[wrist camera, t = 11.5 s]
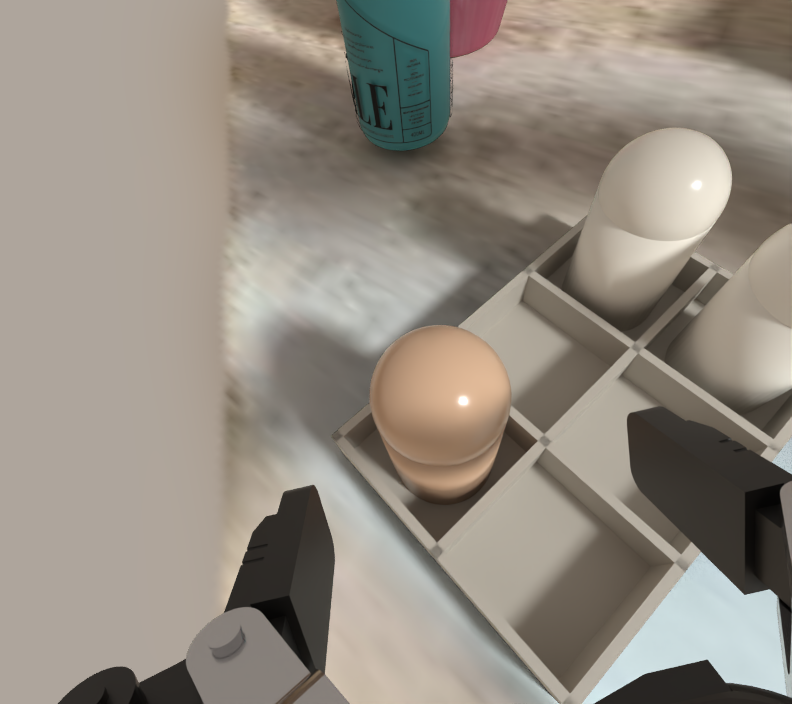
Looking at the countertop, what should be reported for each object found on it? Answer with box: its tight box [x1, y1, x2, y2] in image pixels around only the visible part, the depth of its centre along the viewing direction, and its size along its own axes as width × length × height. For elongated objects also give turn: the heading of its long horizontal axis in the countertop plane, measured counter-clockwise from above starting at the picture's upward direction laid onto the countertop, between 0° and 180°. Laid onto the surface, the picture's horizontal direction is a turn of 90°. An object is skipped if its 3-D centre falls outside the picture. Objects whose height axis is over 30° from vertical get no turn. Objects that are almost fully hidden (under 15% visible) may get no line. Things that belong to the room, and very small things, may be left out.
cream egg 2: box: [665, 223, 792, 415], centre depth 18 cm, size 5×5×9 cm
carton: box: [331, 215, 792, 704], centre depth 21 cm, size 19×13×3 cm
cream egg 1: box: [562, 128, 732, 332], centre depth 20 cm, size 5×5×9 cm
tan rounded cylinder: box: [369, 325, 512, 505], centre depth 17 cm, size 5×5×9 cm
